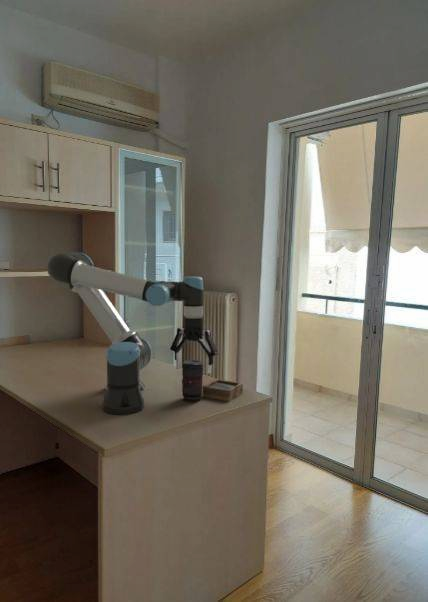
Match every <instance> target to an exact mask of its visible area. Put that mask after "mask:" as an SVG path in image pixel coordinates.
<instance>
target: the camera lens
mask: <svg viewBox="0 0 428 602" xmlns="http://www.w3.org/2000/svg"><path fill="white" fill-rule="evenodd" d="M203 364H204V363H203V362H202V361H200V360H193V359H191V360H189V359H188V360H184V361H183V362H182V368H181V369H182V370H181V371H182V372H181V373H182V379H181V384H182V388H181V391H182V398H183V401H185V402H186V403H197V402H200V401H201V399H202V397H203V377H204V365H203Z"/></svg>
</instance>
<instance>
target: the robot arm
mask: <svg viewBox="0 0 428 602" xmlns="http://www.w3.org/2000/svg"><path fill="white" fill-rule="evenodd" d="M46 270H47V274H48V276H49V277H50V278H51V279H52V280H53V281H55V282H56V283H59V284H64V285H67V287H68V288H69V289H70V291H71V292H73V293H77V294H78V295H79V297H80V298H81V299H82V301H83V302H84V304H85V306H86V307H87V309H88V310H89V311H90V313H91V314H92V316H93V317H94V318H95V320H96V321H97V322H98V324H99V325H100V327H101V329H102V330H103V331H104V333H105V334H106V335H107V337H108V339H109V340H110V341H111V343H112V344H111V345H110V346H108V348H107V350H106V356H105V358H106V386H107V389H105V390H106V391H105V394H104V397H103V400H102V408H101V409H102V411H103V412H105V413H107V414H111V415H130V414H135V413H138V412H141V411H142V410H143V409H144V408H145V398H144V397H143V394H142V389H140V385H139V377H140V376H139V375H140V371H141V370H142V369H143V368H145V367H147V365H148V364H149V362H150V361H151V359H152V356H153V350H152V347H151V344H150V343H149V341H147V340H145V339H144V338H141V336H140V335H139V334H138V332H137V331H136V330H131V329H130V327H128V326H127V324H126V323H125V319H123V317H122V316H121V315H120V313H119V311H118V310H117V308H116V307H115V306H114V304H113V303H112V302H111V300H110V299H109V297H108V295H107V294H106V292H108V293H112V294H116V295H119V296H120V295H121V296H122V297H128V298H131V299H136V300H139V301H143V302H147V303H149V304H150V305H152V306H155V307H160V306H164V305H165V304H168V303H169V302H183V316H184V317H183V327H184V328H183V327H181V326H180V327H177V329H176V334H175V337H174V339H173V342H172V343H171V346H170V348H169V349H170V351H173V352H174V360H175V361H176V362H175V366H176V367H175V370H180V369H182V366H183V362H182V356H183V355H182V354H183V352H182V351H181V350H182V349H183V347H184V346H185V345H186V344H187V342H188V341H190V342H191V341H193V342H197V343H199V345H200V346H201V348H202V349H203V350H204V352H205V353H206V355H207V356H206V357H205V359H206V360H205V361H206V364H205V370H206V371H205V373H206V375H208V374H210V373H212V366H213V364H214V357H215V356H217V355H218V354H219V352H218V349H217V347H216V345H215V342H214V340H213V337H212V332H211V330H210V329H208V330H204V328H203V327H204V317H203V316H204V289H205V288H204V281H203V280H204V279H203V277H201V276H184V277H183V281H164V280H161V281H151V280H148V279H143V278H140V277H137V276H132V275H127V274H125V273H119V272H115V271H112V270H108V269H104V268H101V267H96V266H94V262H93V260H92V259H91V257H90V256H88V255H87V254H85V253H83V252H80V251H70V252H69V251H68V252H67V251H65V252H63V251H62V252H57V253H55V254H53V255H52V256H51V257H50V258H49V259H48V261H47V265H46ZM183 334H184V336H183ZM182 336H183V337H182ZM181 338H182V339H181Z"/></svg>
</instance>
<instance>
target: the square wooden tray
mask: <svg viewBox="0 0 428 602" xmlns="http://www.w3.org/2000/svg"><path fill="white" fill-rule="evenodd" d="M243 387H244V386H243V382H237V381H232V380H231V381H230V380H224V379H219V378H217V379H214V380H212V381H211V382H208V383H206V384H205V385H202V397H205V398H210V399H215V400H220V401H224V402H231V401H232V400H234V399H235V398H237V397H239V396H241V395H242V394H243V391H244V390H243Z"/></svg>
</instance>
